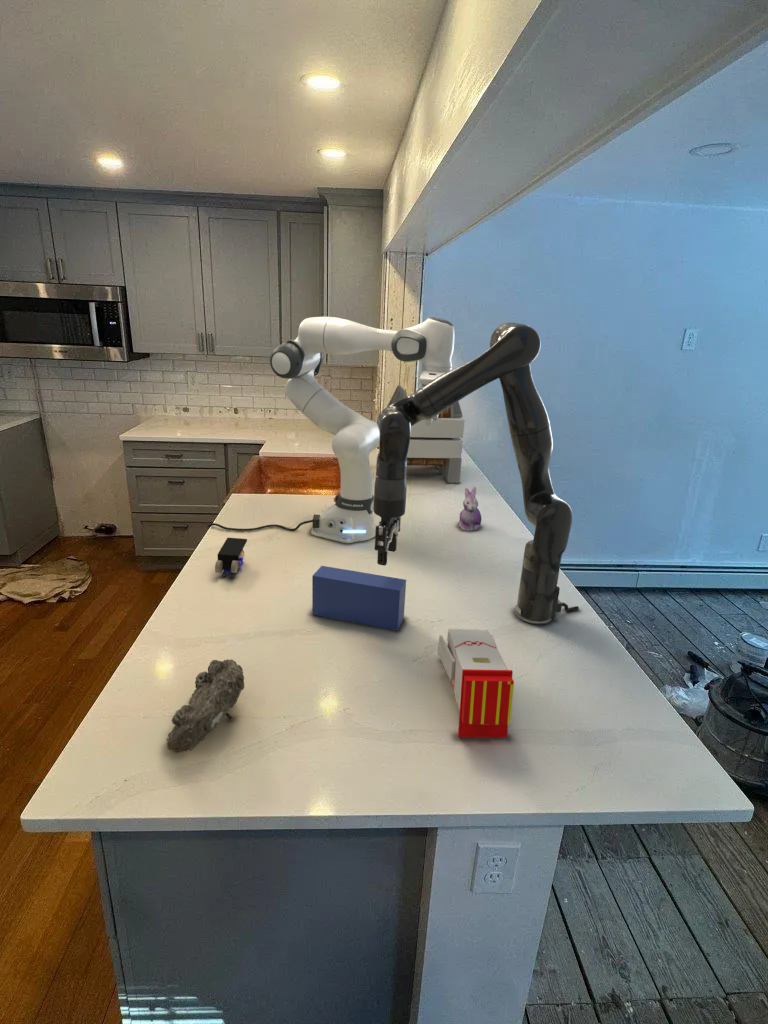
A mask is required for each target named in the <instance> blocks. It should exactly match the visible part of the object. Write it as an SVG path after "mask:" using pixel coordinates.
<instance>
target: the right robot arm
mask: <svg viewBox="0 0 768 1024" xmlns="http://www.w3.org/2000/svg"><path fill="white" fill-rule="evenodd" d="M541 344H542V343H541V337H540V334H539V333H538V331H537V330H536V329H534V327H532V326H529V325H527V324H525V323H519V322H511V321H509V322H504V323H501V324H500V325H498V326H497V327H496V328H495V329H494V330H493V332H492V334H491V336H490V339H489V348H488V349H487V350H486V351H484V352H482V353H481V354H480V355H478V356H476V357H475V358H473V359H472V360H470V361H468V362H466V363H464V364H461V365H459V366H457V367H455V368H452V370H450V371H448V372H446V373H444V374H442V375H440V376H438V377H437V378H435V379H434V380H432V381H430V382H429V383H427V384H426V385H424V386H423V387H421V386H420V388H418V389H417V390H416V391H414V392H413V393H411V394H410V395H407V397H405V398H403V399H401V400H399V401H397V402H395V403H393V404H391V405H389V406H388V407H387V406H386V407H385V408H384V409H382V410H381V412H380V413H379V414H378V416H377V418H376V423H377V426H378V429H379V432H380V443H379V444H378V446H379V447H378V448H379V449H378V453H377V455H376V456H377V457H376V465H375V466H376V467H375V471H376V472H375V480H374V485H373V496H374V510H373V514H374V515H376V516H378V517H380V521H378V525H375V532H376V533H375V537H374V547H373V548H374V549H373V550H374V551H377V557H376V559H377V561H376V563H377V565H379V566H387V564H388V553H389V552H391V553H395V552H396V551H397V544H398V537H399V533H400V532H401V521H402V520H401V519H402V518H401V517H403V516H404V515H405V514H406V506H407V505H406V504H407V488H408V483H407V472H408V471H407V470H408V466H407V454H408V449H409V443H410V437H411V426H413V425H415V424H416V423H418V422H420V421H422V420H429V419H431V418H433V417H435V416H436V415H438V414H439V413H441V412H443V411H444V410H446V409H447V408H449V407H450V406H452V405H453V404H455V403H456V402H460V401H461V400H462V399H465V398H466V397H467V396H469V395H470V394H472V393H474V392H476V391H477V390H479V389H480V388H483V387H484V386H486V385H488V384H490V383H492V382H494V381H495V380H498V379H499V382H500V386H501V390H502V395H503V402H504V408H505V413H506V419H507V423H508V429H509V434H510V440H511V444H512V449H513V452H514V455H515V460H516V464H517V469H518V473H519V476H520V481H521V489H522V497H523V499H522V500H523V508H524V509H523V510H524V514H525V517H526V518H527V521H528V522H529V523H530V524H531V525H532V526H533V527H534V534H533V539H530V540H528V541H527V542H526V543H525V545H524V551H523V559H522V566H521V572H520V573H521V574H520V579H519V586H518V593H517V600H516V604H515V608H514V610H515V612H514V613H515V615H516V617H517V618H518V619H519V620H521V621H523V622H525V623H528V624H533V625H545V624H549V623H550V622H552V621H555V620H556V614H557V613H561V612H562V607H563V608H564V609H563V610H564V611H565V612H574V611H578V610H579V609H580V608H579V606H577V605H576V606H572V607H569V605H568V604H567V603H566V602H563V601H562V602H561V601H560V599H559V595H560V591H561V590H560V589H561V588H560V586H559V585H558V581H559V575H560V569H561V563H562V558H563V557H562V556H563V554H564V552H565V551H566V549H567V546H568V543H569V538H570V533H571V529H572V524H573V510H572V508H571V506H570V505H569V504H568V502H566V501H565V500H563V499H561V498H560V497H558V496H557V494H556V493H555V490H554V488H553V484H552V479H551V475H550V474H551V473H550V465H551V464H550V463H551V459H552V455H553V450H554V449H553V448H554V441H553V434H552V428H551V422H550V418H549V415H548V412H547V410H546V407H545V405H544V402H543V400H542V398H541V396H540V393H539V392H538V389H537V388H536V385H535V382H534V379H533V375H532V370H531V363H532V362H533V361H534V360H536V358H537V357H538V356H539V353H540V351H541Z"/></svg>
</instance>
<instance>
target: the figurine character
mask: <svg viewBox="0 0 768 1024" xmlns="http://www.w3.org/2000/svg"><path fill="white" fill-rule="evenodd" d="M247 542H248V538H240V537H226V539H225V541H224V543H223V544H222V546H221V547H220V549H219V551H218V552H217V560H216V562H215V564H214V572H215V573H221V577H222V578H224V577H225V576H226V574H227V573H230V574H231V573H232V574H231V578H234V577H235V575H236V573H237V572H239V571H240V567H242V566H243V565H244V564H245V562H244V558H245V551H244V547H245V546H246V544H247Z"/></svg>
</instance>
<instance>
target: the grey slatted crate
mask: <svg viewBox="0 0 768 1024" xmlns="http://www.w3.org/2000/svg"><path fill="white" fill-rule="evenodd" d="M407 394H408V393H407V390H406V389H404V388H403V387H402V385H399V384H398V385H397V386H396V388H395V390H394V392H393V394H392V395H391V398H390V400H389V402H388V404H387V405H386V407H388V406H389V405H391V404H393V403H395V402H397V401H399V400H401V399H403V398H405V397H407V396H408V395H407ZM425 422H426V420H422V421H420V422H418V423H416V424H415V425H413V426H411V437H410V443H409V449H408V454H407V467H408V466H411V467H412V466H413V467H415V466H416V467H417V466H418V467H436V468H437V470H438V469H439V473H440V474H441V475H443V478H444V479H445V481H446V482H447V483H449V484H455V483H456V484H459V483H461V472H462V461H463V460H462V453H463V442H464V441H463V440H462V439H463V438H464V431H465V430H464V429H465V419H464V418H463V411H462V408H461V405H460V401H458V402H456V403H455V404H453V405H452V406H450V407H449V408H447V409H446V410H444V411H443V412H441V413H439V414H438V419H437V420H436V421H434V420H432V425H431V426H426V425H425Z"/></svg>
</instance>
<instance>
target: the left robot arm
mask: <svg viewBox="0 0 768 1024" xmlns="http://www.w3.org/2000/svg"><path fill="white" fill-rule="evenodd" d="M454 347H455V327H454V325H453V323H452V322H451V321H449V320H448V319H443V318H440V317H435V316H432V317H431V316H430V317H428V318H426V320H424V321H422V322H421V323H418V324H416V325H413V326H410V327H406V328H403V329H400V330H393V329H382V328H377V327H372V326H369V325H366V324H362V323H359V322H357V321H353V320H351V319H350V320H349V319H346V318H341V317H335V316H311V317H306V318H304V319H303V320H302V321H301V322H300V324H299V327H298V331H297V337H296V338H295V339H291V338H290V339H288V340H286V341H285V342H283V343H281V344H280V345H278V346H276V347H275V348H274V349H273V350H272V351H271V353H270V356H269V366H270V368H271V371H272V372H273V374H275V375H276V376H277V377H279V378H281V379H287V381H286V383H285V385H284V394H285V395H286V397H287V398H288V400H289V401H290V402H291V403H292V405H293V406H295V408H296V409H297V410H299V411H300V413H302V414H303V416H305V417H306V418H307V419H308V420H310V422H312V423H313V424H314V425H315V426H316V427H318V428H319V430H321V431H324V432H327V433H329V434H331V435H333V436H334V437H333V438H332V442H331V450H332V452H333V454H334V455H335V457H336V458H337V462H338V467H339V473H340V488H339V489H340V490H339V491H338V492H337V494H336V495H335V496H334V497H333V502H334V504H333V505H331V506H329V507H328V508H326V509H325V510H323V512H321V514H313V516H312V519H310V520H304V521H302V522H300V523H298V525H296V527H294V528H289V527H286V526H284V525H280V524H268V525H261V526H258V527H251V528H249V527H248V528H237V527H236V528H234V527H227V526H223V525H222V524H220V523H219V524H218V523H216V522H212V523H210V524H208V525H207V526H206V528H211V527H213V526H215V527H218V528H221V529H223V530H226V531H233V532H234V531H237V532H247V531H248V532H250V531H251V532H252V531H258V530H262V529H266V528H279V529H282V530H286V531H290V532H295V531H297V530H298V529H300V527H301V526H303V525H306V524H310V523H312V526H311V527H312V528H311V530H310V533H311V536H315V537H319V538H323V539H326V540H330V541H336V542H339V543H343V544H352V543H357V542H365V541H368V540H372V539H373V538H375V533H376V527H375V523H374V472H373V471H372V468H371V465H370V464H371V463H370V453H371V452H372V451H374V450H375V449H377V447H378V446H379V443H380V432H379V429H378V426H377V421H374V420H371V419H368V418H366V417H364V416H363V415H361V414H360V413H359V412H357V411H355V410H353V409H352V408H350V407H348V406H347V405H345V404H344V403H343V402H341V401H340V400H339V399H338V398H336V397H335V395H333V394H332V393H331V392H329V391H328V390H327V389H326V388H325V387H324V386H323V385H321V383H319V382H318V381H317V380H316V378H315V377H316V376H317V375H319V373H320V369H321V366H322V364H323V362H324V358H325V354H328V355H335V356H343V355H345V356H346V355H353V354H359V353H364V352H368V351H387V352H392V354H393V356H394V357H395V358H396V359H397V360H398V361H401V362H403V363H415V362H419V361H420V362H421V368H420V370H421V371H420V375H419V379H418V380H419V381H418V382H419V383H418V384H419V385H420V388H421V387H423V386H424V385H426V384H427V383H429V382H430V381H432V380H434V379H435V378H437V377H438V376H440V375H442V374H444V373H446V372H448V371H450V370H453V364H452V358H453V354H454V350H455V349H454ZM437 419H438V415H436V416H435V417H433V418H431V419H429V420H426V422H425V425H426V426H431V425H432V420H434V421H436V420H437Z"/></svg>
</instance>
